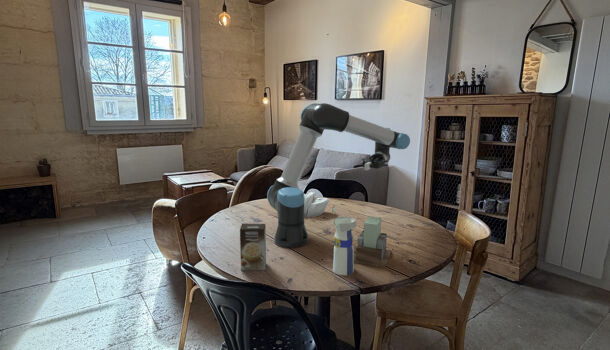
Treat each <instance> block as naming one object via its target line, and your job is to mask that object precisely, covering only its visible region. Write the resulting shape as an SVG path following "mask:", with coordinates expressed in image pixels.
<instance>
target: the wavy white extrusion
mask: <svg viewBox="0 0 610 350" xmlns="http://www.w3.org/2000/svg"><path fill="white" fill-rule="evenodd" d="M316 195H317V193H316V192H315V191H314V192H313V191H312V192H311V191H310V192H308V194H306V193H304V198H305V201H304V218H305V217H306V218H316V217H319V216H321V215H323V214H324V212H325V211H326V208H327V207H328V205H329V204H330V201H331V199H329V198H327V197H316Z"/></svg>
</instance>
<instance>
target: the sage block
mask: <svg viewBox="0 0 610 350" xmlns="http://www.w3.org/2000/svg"><path fill="white" fill-rule="evenodd" d="M363 231H364V241H363V247H370V248H376V249H377V241H378V239H379V237H380V235H381V233H382V217H378V216H370V215H368V217H367V218H366V219H365V221H364V222H363Z"/></svg>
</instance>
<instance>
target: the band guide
mask: <svg viewBox="0 0 610 350" xmlns="http://www.w3.org/2000/svg"><path fill="white" fill-rule="evenodd" d="M356 239H357V240H356V241H357V245H356V247H355V252H354V263H355V264H361V265H367V266H373V267H379V268H384V269H385V268H386V266H387V264H388V261H389V259H390V257H391V254H392V250H391V249H387V233H383V232H381V235H380V237H379V239H378V241H377V249H376V248H370V247H363V241H364V230H362V231H361V232H360V234H359V235H358V237H357V238H356Z"/></svg>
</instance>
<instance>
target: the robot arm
mask: <svg viewBox="0 0 610 350" xmlns="http://www.w3.org/2000/svg"><path fill="white" fill-rule="evenodd" d="M300 120H301V121H300V124H299V126H298V127H299V130H300V131H299V134H298V136H297V138H296V141H295V143H294V145H293V148H292V151H291V152H290V155H289V157H288V159H287V162H286V163H285V167H284V169H283V172H282V173H281V176H280V177H278V178H276V180H275V181H274V184H273V185H271V186H270V187H269V189H268V190H267V193H266V196H267V197H266V198H267V201H268V203H269V206H271V207H272V208H273V210H275V211H277V222H278V224H277V227H276V231H275V234H274V244H276V245H278V246H279V247H282V248H300V247H303V246H305V245H307V244H308V242H309V234H308V232H307V231H308V230H307V229H306V225H305V217H304V201H305V198H304V194H305V193H304V191H303V190H302V189H300V187H299V186H298V184H299V181H300V179H301V176H302V175H303V173H304V169H305V168H306V165H307V163H308V160H309V158H310V155H311V153H312V151H313V148H314V147H315V144H316V142H317V139H318V138H320V137H322V135H323V133H324V131H325V130H328V131H329V130H330V131H335V132H338V133H343V132H344V133H349V134H352V135H355V136H358V137H360V138H364V139H367V140H369V141H373V142H374V143H375V144H374V145H375V146H374V153H372V154H371V155H370V156H369V158H368V159H367V158H366V159H365V158H362V159H361V166H362V167H363V168H364V171H369V170H370V169H376V170H378V169H381V168H383V167H387V166H388V163H389V162H390V160H391V154H390V149H391V148H392V149H398V150H405V149H408V147H409V146H410V144H411V138H410V136H409V135H408V134H407V133H403V132H402V133H401V132H398V131H394V130H391V128H390V127H384V126H381V125H379V124H376V123H373V122H370V121H367V120H364V119H362V118H360V117H359V118H358V117H356V116H353V115H351V114H350V112H349V111H346V110H344V109H342V108H341V107H340V108H339V107H337V106H335V105H333V104H329V103H326V102H325V103H324V102H323V103H322V102H321V103H311V104H308V105H306V106H305V107H304V108H303V109H302V111H301V113H300Z"/></svg>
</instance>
